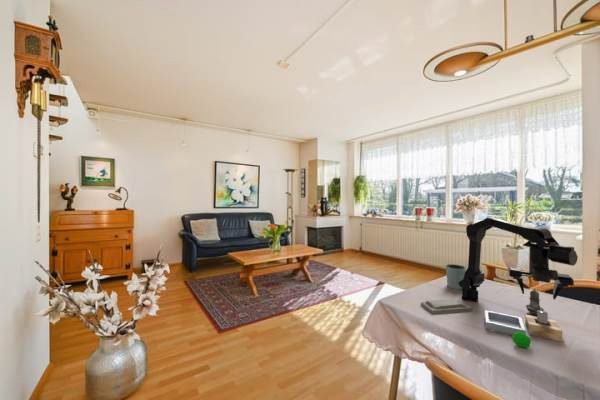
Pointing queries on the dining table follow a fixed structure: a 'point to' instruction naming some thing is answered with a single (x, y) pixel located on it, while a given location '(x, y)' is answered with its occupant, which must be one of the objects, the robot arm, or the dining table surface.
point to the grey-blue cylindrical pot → (454, 275)
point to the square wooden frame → (543, 328)
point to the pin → (542, 317)
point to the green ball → (521, 339)
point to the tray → (503, 323)
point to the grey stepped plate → (445, 306)
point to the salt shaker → (534, 304)
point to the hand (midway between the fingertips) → (538, 296)
